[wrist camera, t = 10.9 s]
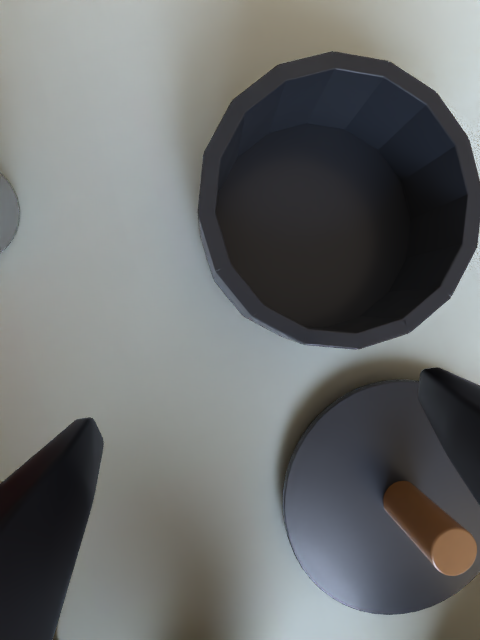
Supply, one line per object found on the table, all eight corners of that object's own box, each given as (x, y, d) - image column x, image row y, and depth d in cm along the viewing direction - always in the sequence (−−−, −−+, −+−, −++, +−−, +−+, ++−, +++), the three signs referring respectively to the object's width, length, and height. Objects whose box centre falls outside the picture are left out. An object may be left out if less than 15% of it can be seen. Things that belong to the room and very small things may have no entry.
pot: (405, 347, 21) (464, 359, 16) (191, 327, 20) (186, 334, 15) (428, 133, 21) (496, 79, 16) (213, 99, 20) (215, 28, 15)
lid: (482, 601, 22) (572, 698, 17) (269, 598, 21) (290, 702, 15) (507, 386, 22) (608, 412, 17) (292, 368, 21) (323, 390, 15)
